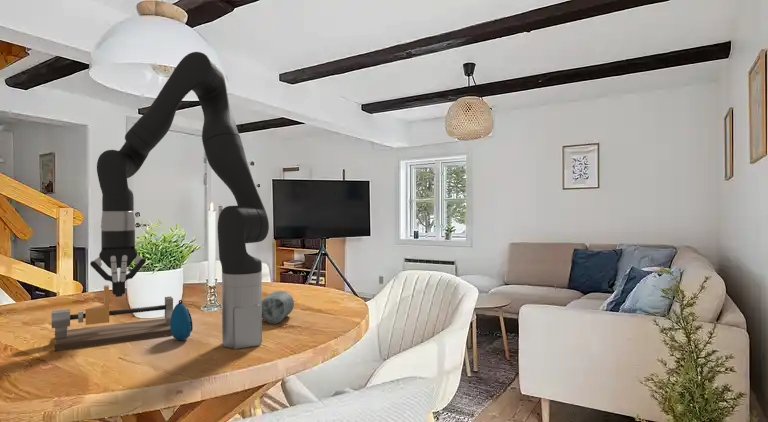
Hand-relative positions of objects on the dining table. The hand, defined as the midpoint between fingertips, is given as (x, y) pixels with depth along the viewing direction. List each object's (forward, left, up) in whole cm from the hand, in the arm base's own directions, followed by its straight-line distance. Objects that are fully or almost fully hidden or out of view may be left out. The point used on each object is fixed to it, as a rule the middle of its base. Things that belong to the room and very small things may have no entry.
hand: (118, 296), depth 120 cm
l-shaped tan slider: (0, +5, -6) cm, 8 cm away
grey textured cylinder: (-6, -40, -10) cm, 42 cm away
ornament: (-13, -13, -10) cm, 21 cm away
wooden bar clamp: (0, 0, -10) cm, 10 cm away
